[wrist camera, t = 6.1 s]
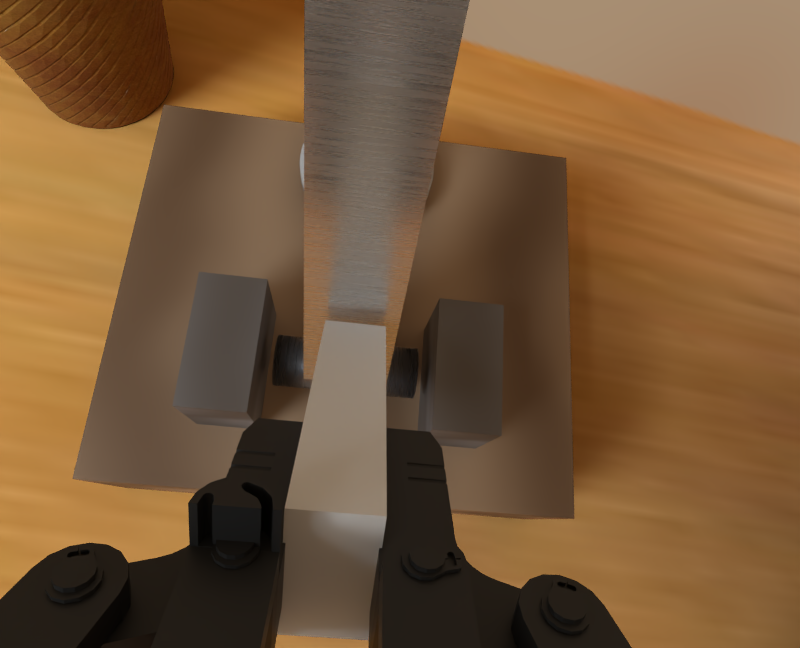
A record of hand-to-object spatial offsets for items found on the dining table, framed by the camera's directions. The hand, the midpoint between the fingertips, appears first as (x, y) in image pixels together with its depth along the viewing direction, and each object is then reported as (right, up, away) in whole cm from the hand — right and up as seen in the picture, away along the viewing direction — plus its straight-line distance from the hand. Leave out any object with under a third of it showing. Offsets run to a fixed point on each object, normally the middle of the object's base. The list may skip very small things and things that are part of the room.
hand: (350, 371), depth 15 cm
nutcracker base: (-1, +1, +11) cm, 11 cm away
